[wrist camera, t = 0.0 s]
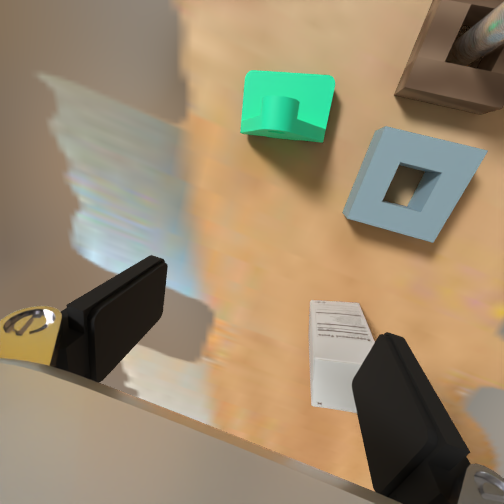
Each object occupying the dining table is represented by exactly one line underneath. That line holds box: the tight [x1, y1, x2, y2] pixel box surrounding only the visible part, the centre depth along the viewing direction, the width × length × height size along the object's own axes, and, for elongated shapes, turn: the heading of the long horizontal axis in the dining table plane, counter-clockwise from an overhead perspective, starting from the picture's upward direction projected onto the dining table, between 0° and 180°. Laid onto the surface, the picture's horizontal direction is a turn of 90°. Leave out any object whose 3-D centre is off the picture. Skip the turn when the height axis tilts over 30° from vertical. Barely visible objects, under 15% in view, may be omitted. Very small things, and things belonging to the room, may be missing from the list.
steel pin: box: [446, 2, 504, 66], centre depth 23 cm, size 3×3×11 cm
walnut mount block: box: [394, 0, 504, 114], centre depth 27 cm, size 11×11×4 cm
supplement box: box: [309, 300, 375, 413], centre depth 38 cm, size 9×9×15 cm
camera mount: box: [240, 70, 335, 143], centre depth 29 cm, size 12×8×10 cm, turn 83°
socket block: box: [342, 126, 488, 243], centre depth 32 cm, size 12×12×4 cm
